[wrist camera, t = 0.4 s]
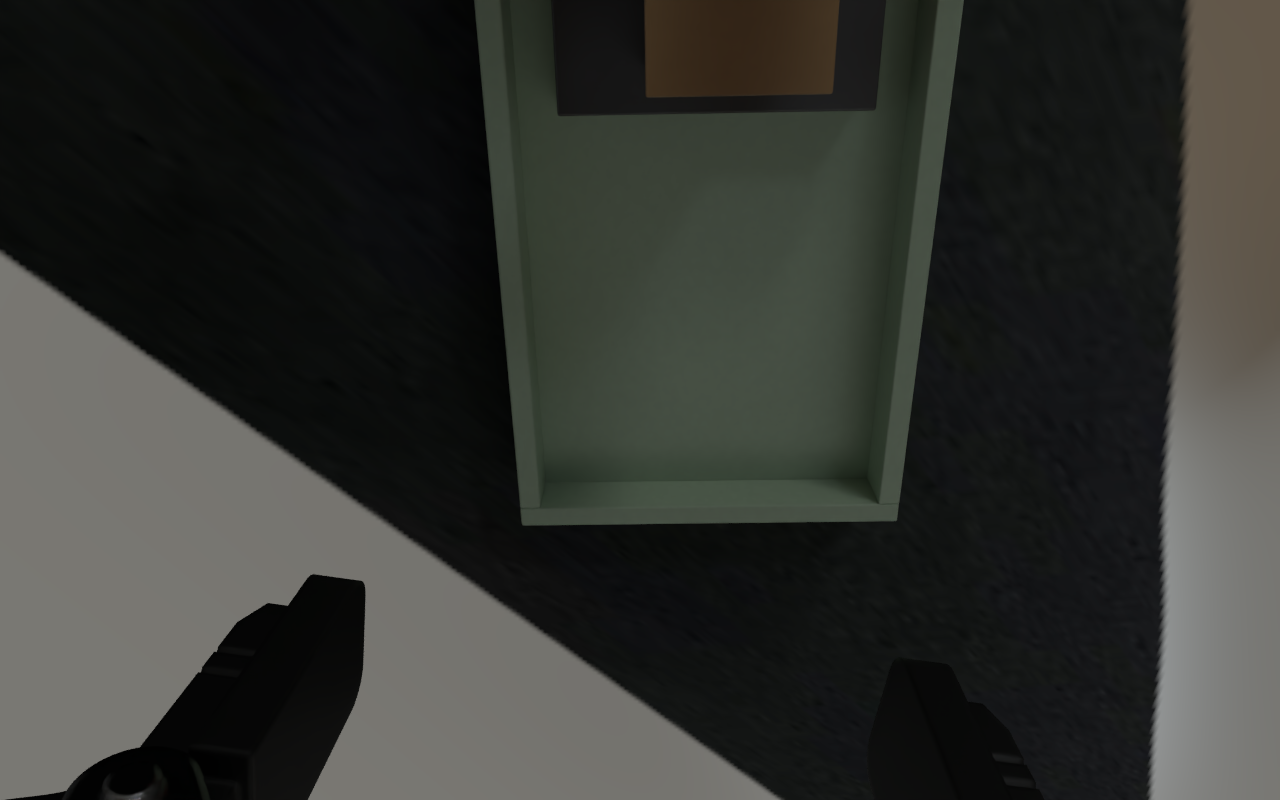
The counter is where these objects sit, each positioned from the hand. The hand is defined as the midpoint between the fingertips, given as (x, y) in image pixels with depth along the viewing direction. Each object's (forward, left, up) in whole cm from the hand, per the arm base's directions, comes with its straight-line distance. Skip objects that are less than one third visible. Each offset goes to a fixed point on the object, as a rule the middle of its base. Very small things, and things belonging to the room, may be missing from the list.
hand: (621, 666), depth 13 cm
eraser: (-8, -2, -20) cm, 22 cm away
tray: (-3, +1, -21) cm, 22 cm away
